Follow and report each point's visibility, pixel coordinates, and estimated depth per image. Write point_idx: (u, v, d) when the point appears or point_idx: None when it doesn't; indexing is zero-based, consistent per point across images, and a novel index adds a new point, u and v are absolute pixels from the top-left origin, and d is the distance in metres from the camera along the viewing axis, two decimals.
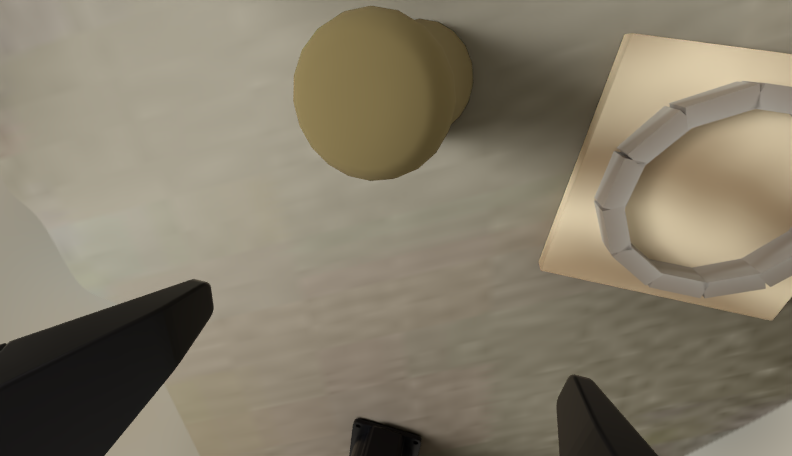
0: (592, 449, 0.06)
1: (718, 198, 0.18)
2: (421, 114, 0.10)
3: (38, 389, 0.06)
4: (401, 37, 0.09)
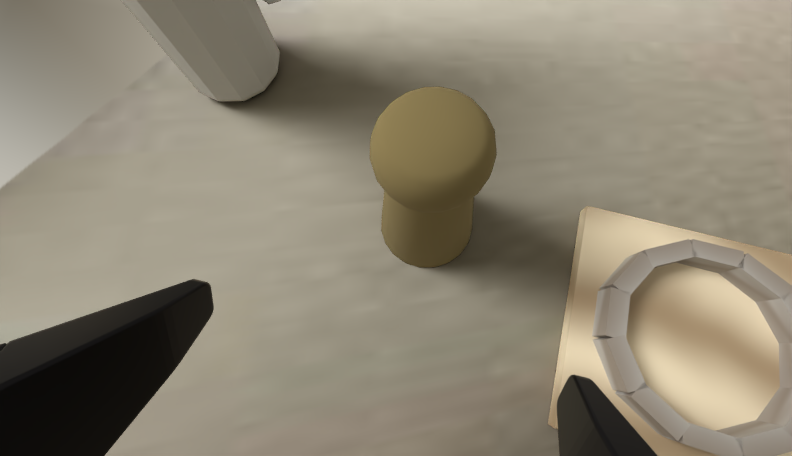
0: (592, 449, 0.06)
1: (702, 345, 0.19)
2: (480, 138, 0.13)
3: (38, 389, 0.06)
4: (467, 98, 0.14)
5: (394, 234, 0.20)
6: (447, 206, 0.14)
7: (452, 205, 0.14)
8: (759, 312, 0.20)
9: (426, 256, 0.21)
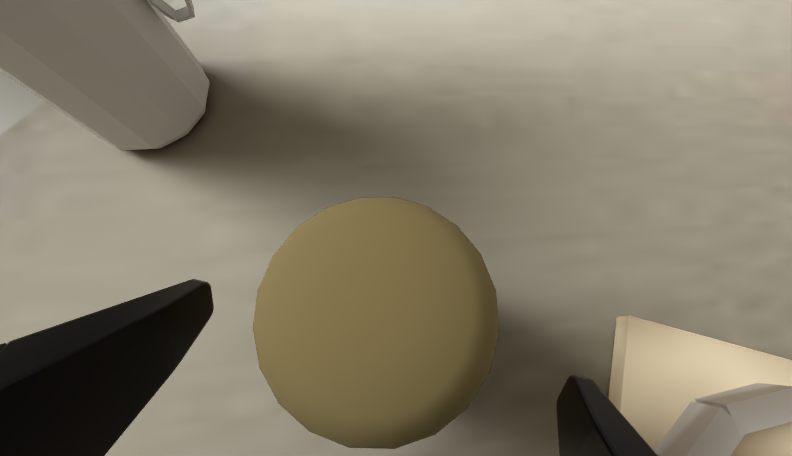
0: (592, 449, 0.06)
1: None
2: (465, 329, 0.06)
3: (39, 388, 0.06)
4: (441, 226, 0.07)
5: None
6: None
7: None
8: None
9: None
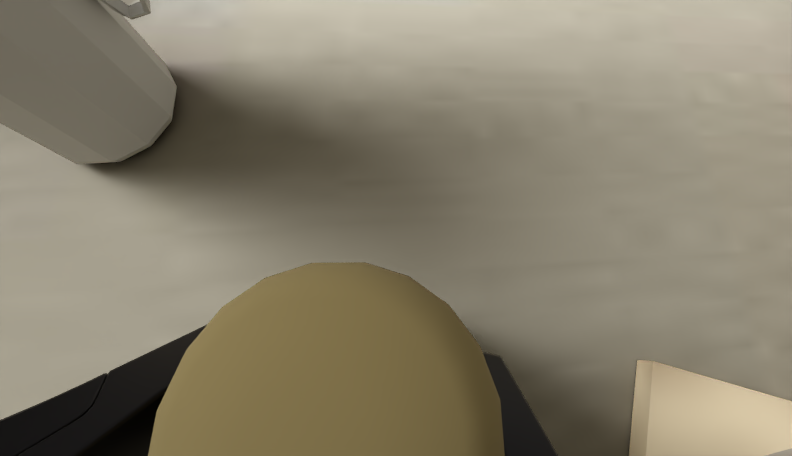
0: None
1: None
2: None
3: (143, 422, 0.06)
4: (422, 317, 0.05)
5: None
6: None
7: None
8: None
9: None
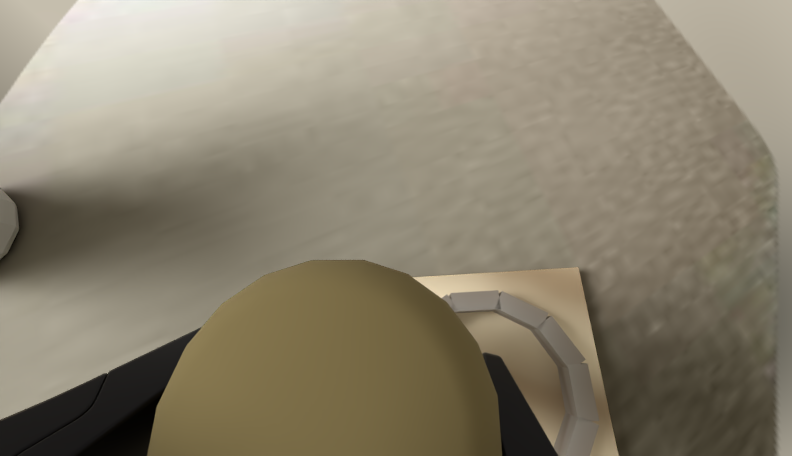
0: None
1: None
2: None
3: (143, 421, 0.06)
4: (420, 314, 0.05)
5: None
6: None
7: None
8: (535, 339, 0.20)
9: None
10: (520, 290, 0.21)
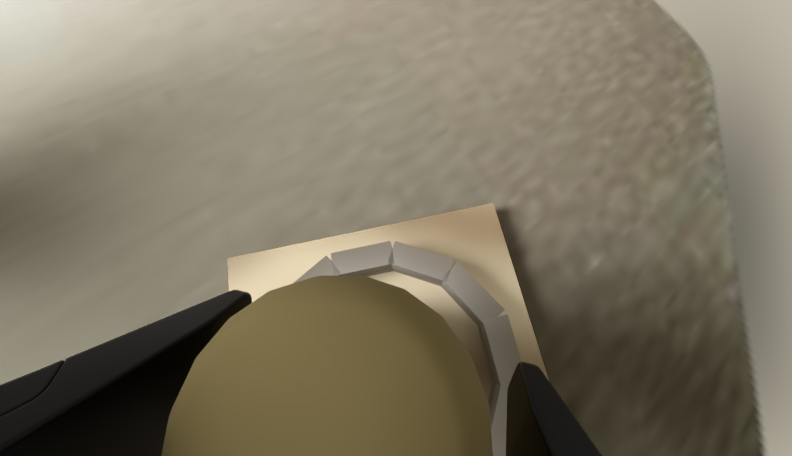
0: (528, 432, 0.07)
1: None
2: None
3: (99, 407, 0.06)
4: (415, 330, 0.05)
5: None
6: None
7: None
8: (448, 297, 0.16)
9: None
10: (425, 240, 0.17)
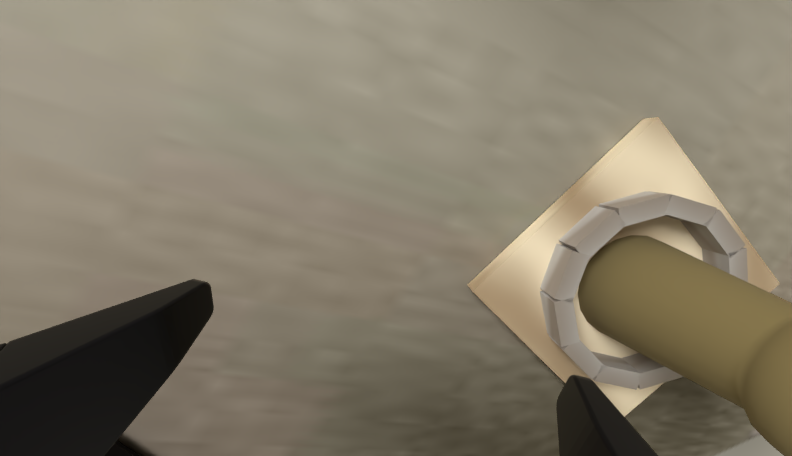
0: (592, 449, 0.06)
1: None
2: None
3: (38, 388, 0.06)
4: None
5: (629, 299, 0.16)
6: (782, 452, 0.11)
7: (783, 453, 0.11)
8: None
9: (609, 328, 0.18)
10: None
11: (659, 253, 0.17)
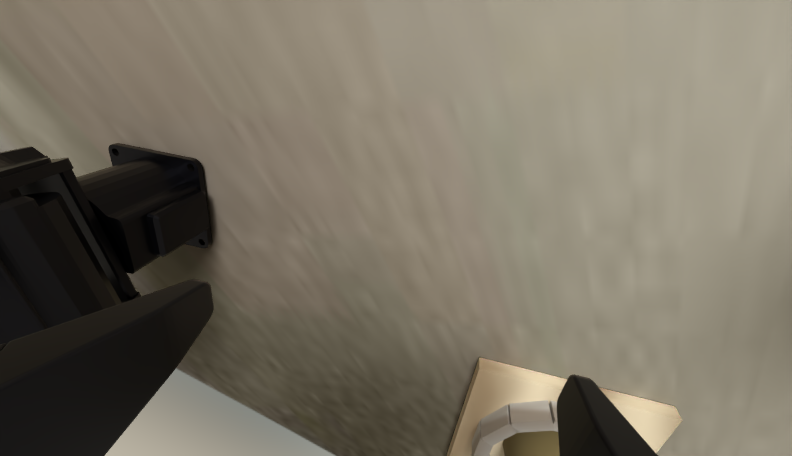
0: (592, 449, 0.06)
1: None
2: None
3: (39, 388, 0.06)
4: None
5: None
6: None
7: None
8: None
9: None
10: None
11: None
